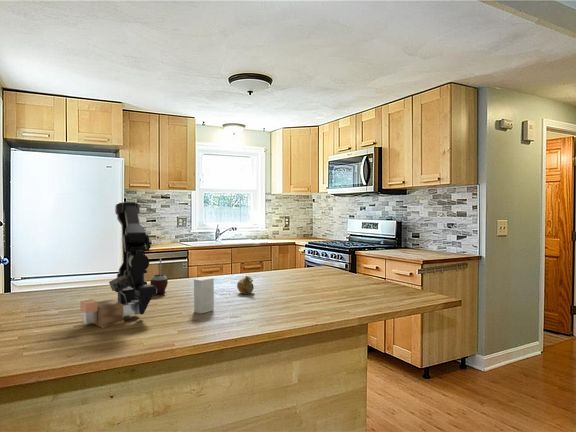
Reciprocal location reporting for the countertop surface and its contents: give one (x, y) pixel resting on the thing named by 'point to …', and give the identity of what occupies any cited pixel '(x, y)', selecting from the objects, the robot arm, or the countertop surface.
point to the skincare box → (203, 294)
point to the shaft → (127, 310)
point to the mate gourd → (159, 282)
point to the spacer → (88, 306)
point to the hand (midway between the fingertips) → (135, 312)
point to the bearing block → (109, 313)
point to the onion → (245, 285)
